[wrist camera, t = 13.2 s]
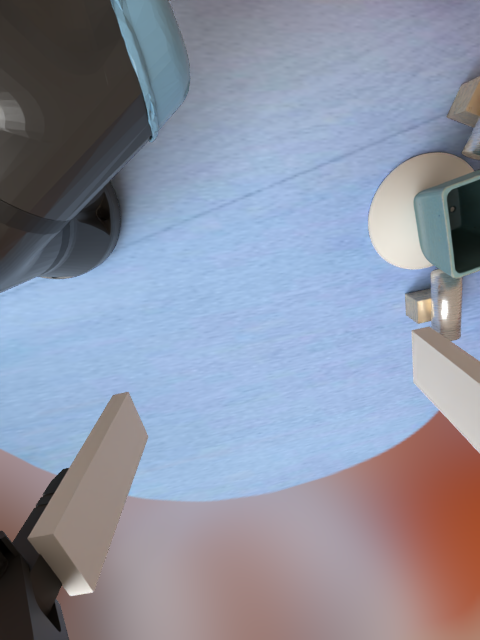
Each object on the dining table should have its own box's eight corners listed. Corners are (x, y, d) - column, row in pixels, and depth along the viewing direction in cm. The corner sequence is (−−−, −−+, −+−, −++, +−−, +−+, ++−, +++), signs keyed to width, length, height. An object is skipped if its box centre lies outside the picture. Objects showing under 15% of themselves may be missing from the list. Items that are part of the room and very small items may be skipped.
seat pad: (346, 212, 37) (347, 212, 37) (443, 124, 34) (446, 123, 34) (405, 289, 41) (407, 290, 41) (499, 216, 38) (501, 216, 37)
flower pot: (473, 159, 35) (547, 149, 27) (479, 235, 38) (547, 248, 30) (394, 189, 36) (441, 188, 28) (406, 261, 39) (452, 280, 31)
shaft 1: (403, 268, 40) (431, 280, 34) (444, 258, 39) (478, 270, 34) (406, 324, 43) (432, 344, 37) (444, 316, 42) (475, 335, 37)
